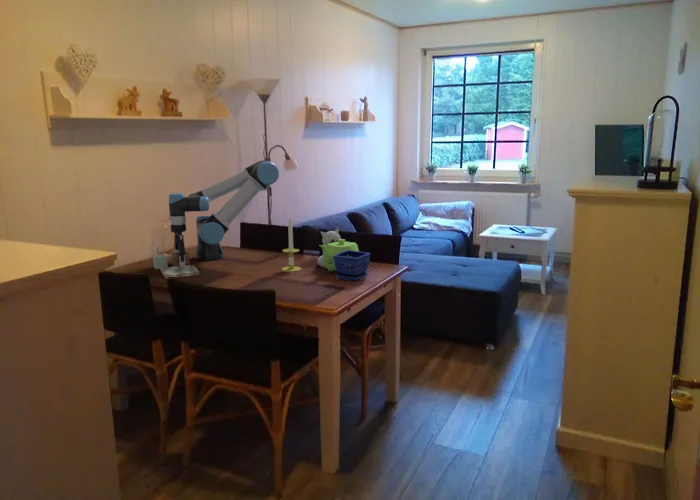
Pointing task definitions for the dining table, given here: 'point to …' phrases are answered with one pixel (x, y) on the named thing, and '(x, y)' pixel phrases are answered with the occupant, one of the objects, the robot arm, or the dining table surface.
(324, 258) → the teapot
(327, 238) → the decorative figurine
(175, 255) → the walnut block
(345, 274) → the flower pot
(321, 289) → the dining table surface
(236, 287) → the dining table surface
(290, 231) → the candle
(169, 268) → the build board
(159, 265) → the sage cube
